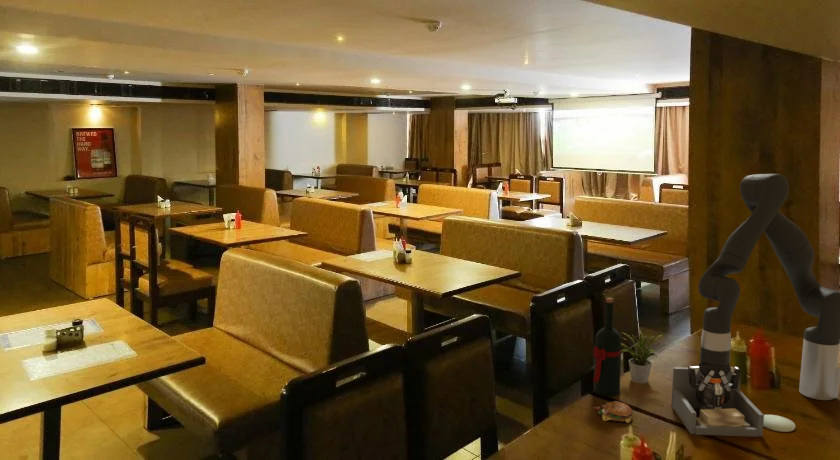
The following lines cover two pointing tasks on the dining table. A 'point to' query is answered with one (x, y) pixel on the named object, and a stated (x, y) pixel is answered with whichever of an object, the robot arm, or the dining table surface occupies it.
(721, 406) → the pill bottle
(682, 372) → the frame
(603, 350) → the wine bottle
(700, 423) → the offcut lower
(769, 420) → the coaster
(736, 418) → the offcut upper
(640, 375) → the house plant
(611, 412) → the hamburger
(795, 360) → the dining table surface
